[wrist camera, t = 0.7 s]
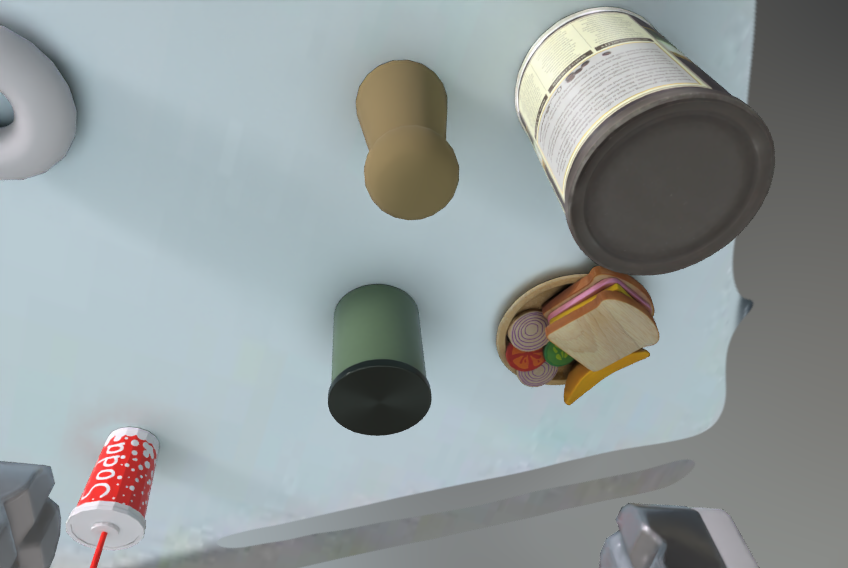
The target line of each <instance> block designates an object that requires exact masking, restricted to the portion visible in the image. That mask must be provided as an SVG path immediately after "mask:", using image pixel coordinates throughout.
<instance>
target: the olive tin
mask: <svg viewBox="0 0 848 568" xmlns="http://www.w3.org/2000/svg"><path fill="white" fill-rule="evenodd" d="M430 405H431V389H430V385H429V382H428V380H427V378H426V370H425V362H424V353H423V345H422V337H421V328H420V320H419V312H418V308H417V305H416V304H415V302H414V301H413V299H412V298H411V297H410V296H409V295H408V294H406V293H405V292H404V291H402V290H400V289H398V288H395V287H392V286H388V285H379V284H377V285H367V286H363V287H360V288H357V289H355V290H353V291H351V292H349V293H348V294H346V295H345V296H344V297H343V298H342V299H341V300H340V301H339V303H338V305H337V306H336V309H335V312H334V325H333V354H332V383H331V386H330V389H329V393H328V407H329V410H330V412H331V414H332V416H333V417H334V419H335V420H336V421H337V422H338V423H339V424H340V425H342V426H343V427H345V428H347V429H349V430H351V431H353V432H356V433H360V434H365V435H376V436H379V435H390V434H394V433H398V432H401V431H404V430H406V429H409V428H410V427H412V426H414V425H415V424H417V423H418V422H419V421H420V420H422V419H423V417H424V416H425V415H426V414H427V412H428V410H429V408H430Z"/></svg>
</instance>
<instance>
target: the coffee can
mask: <svg viewBox="0 0 848 568" xmlns="http://www.w3.org/2000/svg"><path fill="white" fill-rule="evenodd" d="M515 105H516V111H517V115H518V118H519V121H520V123H521V125H522V127H523V129H524V130H525V132H526V133H527V135H528V137H529V139H530V141H531V143H532V145H533V148H534V150H535V152H536V154H537V156H538V158H539V160H540V162H541V164H542V167H543V169H544V171H545V173H546V175H547V177H548V179H549V181H550V183H551V185H552V187H553V190H554V192H555V194H556V196H557V198H558V200H559V202H560V204H561V207H562V209H563V211H564V213H565V215H566V220H567V223H568V226H569V229H570V231H571V234H572V236H573V238H574V240H575V242H576V243H577V245H578V246H579V248H580V249H581V250H582V251H583V252H584V253H585V255H586V256H588V257H589V258H590V259H591V260H592V261H594V262H595V263H597V264H599V265H600V266H602V267H604V268H606V269H609V270H611V271H614V272H618V273H622V274H629V275H658V274H665V273H670V272H674V271H677V270H680V269H684V268H686V267H688V266H691V265H693V264H696V263H698V262H700V261H702V260H704V259H705V258H707V257H709V256H711V255H712V254H714V253H716V252H717V251H719V250H720V249H722V248H723V247H725V246H726V245H727V244H729V243H730V242H731V241H732V240H733V239H734V238H735V237H736V236H737V235H739V234H740V233H741V231H743V229H744V228H745V227H746V226H747V225H748V224H749V223H750V221H751V220H752V219H753V217H754V216H755V215H756V213H757V212H758V210H759V209H760V207H761V205H762V204H763V201H764V199H765V197H766V195H767V194H768V191H769V188H770V185H771V182H772V178H773V174H774V168H775V167H774V166H775V151H774V143H773V140H772V137H771V134H770V132H769V129H768V127H767V126H766V124H765V123H764V121H763V120H762V119H761V117H760V116H759V115H758V114H757V113H756V112H755V111H754V110H753V109H752V108H751V107H750V106H748V105H747V104H746V103H744V102H743V101H741V100H740V99H738V98H736V97H734V96H732V95H731V94H730V93H729V92H727V91H726V90H725V89H724V88H723V87H721V86H720V85H719V84H718V83H717V82H716V81H715V80H713V79H712V78H711V77H710V76H709V75H708V74H706V73H705V72H704V71H703V70H701V69H700V68H699V67H698V66H697V65H695V64H694V63H693V62H692V61H691V60H689V59H688V58H687V57H686V56H685V55H684V54H683V53H682V52H680V51H679V50H678V49H677V48H676V47H675V46H673V45H672V44H671V43H670V42H669V41H668V40H667V39H666V38H664V37H663V36H662V35H661V34H660V33H658V32H657V31H656V30H655V28H654V27H653V26H652V25H651V24H650V23H649V22H647V21H646V20H645V19H644V18H642V17H641V16H639V15H637V14H635V13H633V12H630V11H627V10H625V9H621V8H616V7H598V8H591V9H587V10H583V11H580V12H577V13H575V14H572V15H570V16H568V17H566V18H564V19H562V20H560V21H558V22H557V23H556V24H554V25H553V26H552V27H551V28H550V29H549V30H547V31H546V32H545V33H544V34H543V35H542V36H541V37H540V38H539V39H538V40H537V41H536V43H535V44H534V45H533V46H532V48H531V49H530V51H529V52H528V54H527V56H526V57H525V59H524V61H523V64H522V66H521V69H520V71H519V73H518V77H517V83H516V88H515Z"/></svg>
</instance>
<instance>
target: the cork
mask: <svg viewBox="0 0 848 568" xmlns="http://www.w3.org/2000/svg"><path fill="white" fill-rule="evenodd" d="M356 109H357V116H358V119H359V122H360V125H361V128H362V131H363V134H364V137H365V140H366V143H367V146H368V149H369V153H368V155H367V159H366V162H365V166H364V175H365V186H366V188H367V190H368V192H369V194H370V196H371V198H372V200H373V202H374V203H375V204H376V205H377V206H378V207H379V208H380V209H381V210H382V211H384V212H385V213H387V214H389V215H391V216H393V217H396V218H401V219H405V220H419V219H423V218H426V217H429V216H432V215H434V214H435V213H437V212H438V211H440V210H441V209H443V208H444V207H445V206H446V205H447V204H448V203H449V201H450V200H451V199H452V198H453V196H454V193H455V191H456V188H457V185H458V181H459V165H458V162H457V159H456V156H455V153H454V150H453V148H452V147H451V146H450V145H449V144H448V142H447V141H446V123H447V95H446V92H445V89H444V86H443V83H442V82H441V81H440V79H439V78H438V77H437V75H436V74H435V73H434V72H433V71H432V70H430V69H429V68H427V67H426V66H424V65H423V64H420V63H416V62H413V61H409V60H398V61H391V62H388V63H385V64H383V65H380V66H378V67H377V68H375V69H374V70H373V71H372V72H371V73H369V74H368V75H367V76H366V78H365V79H364V81H363V82H362V84H361V85H360V87H359V90H358V94H357V98H356Z"/></svg>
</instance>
